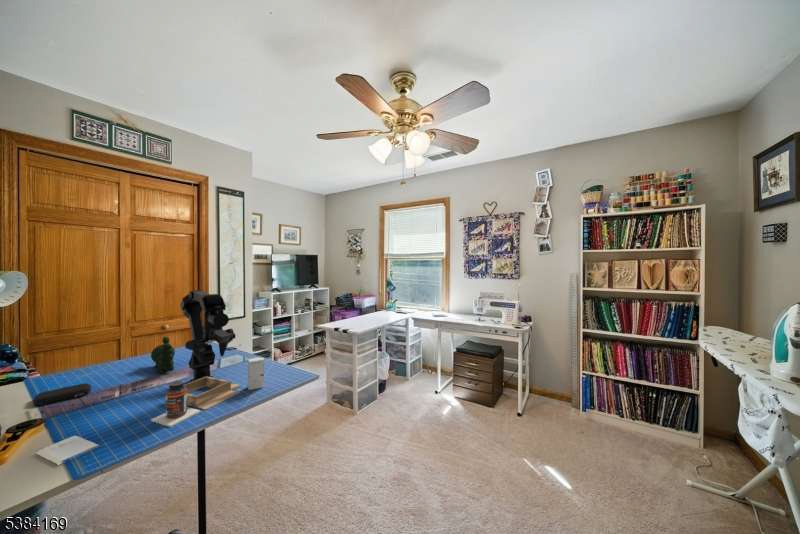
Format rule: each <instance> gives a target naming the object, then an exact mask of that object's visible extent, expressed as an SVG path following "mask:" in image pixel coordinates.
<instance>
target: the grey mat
mask: <svg viewBox="0 0 800 534" xmlns="http://www.w3.org/2000/svg"><path fill="white" fill-rule="evenodd" d="M200 413H201V409H200V410H199V409H196V408H194V407H190V406H189V407H188V406H187V412H186V413H185V414H184V415H183V416H180V417H178V418H167V417H166V412H165V413H162V414H160V415H158V416H156V417H153V418H151V419H150V422H153V423H155V422H156V423H155V424H158V423H159V424H160V425H163V426H166V427H168V428H172V427H174V426H177V425H178V424H180V423H182V422H184V421H186V420H188V419H190V418H191V417H194V416H196V415H198V414H200Z"/></svg>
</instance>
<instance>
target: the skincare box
mask: <svg viewBox="0 0 800 534" xmlns="http://www.w3.org/2000/svg"><path fill="white" fill-rule="evenodd" d="M264 380H265V358H264V357H263V356H262V357H254V358H248V359H247V389H248V391H250V390H255V389H261V388H262V389H263V388H264V385H265V381H264Z"/></svg>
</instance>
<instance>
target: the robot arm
mask: <svg viewBox="0 0 800 534" xmlns="http://www.w3.org/2000/svg"><path fill="white" fill-rule="evenodd" d="M226 306H227V304H226V302H225V300H224V298H223V296H222V295H221V294H220V293H212V294H210V293H208V292H206V291H204V290H200V289H195V290H190V291H189V292H188V294H187V295H185V296H184V297H182V299H181V301H180V303H179V307H180V310H181V311H182V314H183V315H184V316H185V317H186V318H187V319H188V321H189V327H190V332H191V335H192V339H191V340H187V341H186V342H185V345H184V347H185V349H188V350H189V351H191V352H192V353H191V356H190V358H189V361H188V367H189V369H191V370H192V371H193V378H191V379H189V381H190V382H193V381H195V380H198V379H200V378H203V377H205V376H207V377H212V378H214V376H213V375H211V366H212V365H215V359H216V358H215V357H216V353H215V351H214V349H213V345H212V344H211V343H215V342H216V343H217V344H218V348H219V349H218V350H219V355H220V357H224V355H225V352H226V350H227V347H228V345H229V344H230V343H231V342H232V341H233V340H234V339H236V333H235V332H234V329H232V328H227V329H223V327H225V326H227V325H228V323H229V321H230V317H229V316H228V314H227V313H224V311H226V310H227V307H226ZM202 312H203V322H202V318H201V317H202V316H201V313H202Z"/></svg>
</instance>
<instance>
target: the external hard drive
mask: <svg viewBox="0 0 800 534" xmlns="http://www.w3.org/2000/svg"><path fill="white" fill-rule="evenodd" d="M52 445H53V446H52ZM49 446H50V447H49ZM97 447H99V448H100V445H99V444H97V443H95V442H92V441H91V440H87V439H85V438H83V437H81V436H78V435H73V436H70V437H68V438H65V439H63V440H60V441H58V442H55V443H53V444H50V445H48V446H46V448H45V447H44V448H45V449H47V448H48V449H50V450H53V451H50V457H52V458H53V459H55V460H58V461H60V462H61V461H63V460H66V459H68V458H71V457H73V456H76V455H78V454H82V453H85V452H87V451H90V450H92V449H95V448H97ZM97 449H98V448H97ZM95 450H96V449H95ZM90 452H91V451H90Z"/></svg>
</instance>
